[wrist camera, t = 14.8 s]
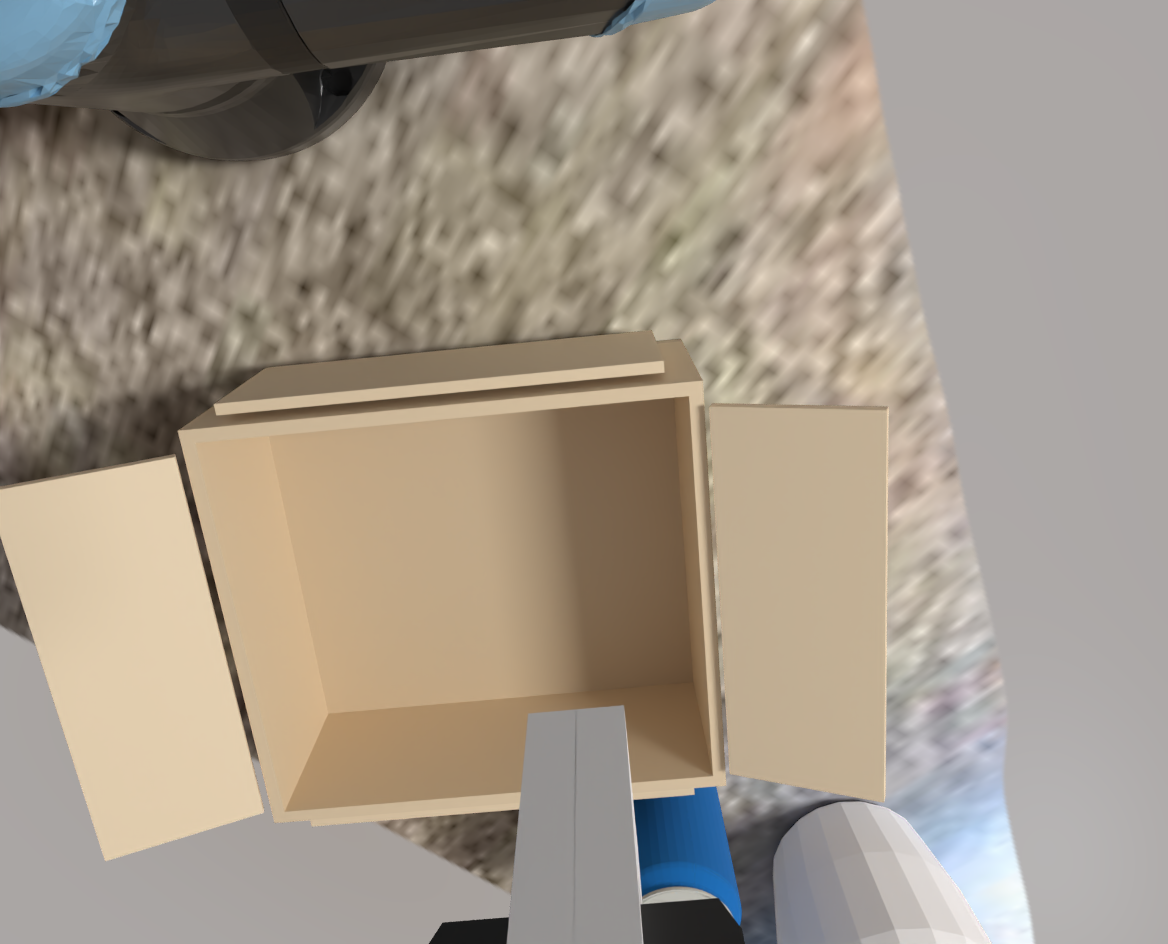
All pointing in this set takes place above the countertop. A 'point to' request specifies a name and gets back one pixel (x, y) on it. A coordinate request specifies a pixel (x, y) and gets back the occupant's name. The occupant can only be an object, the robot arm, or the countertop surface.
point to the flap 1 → (131, 650)
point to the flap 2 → (804, 592)
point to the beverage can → (685, 850)
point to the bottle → (865, 883)
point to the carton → (463, 568)
